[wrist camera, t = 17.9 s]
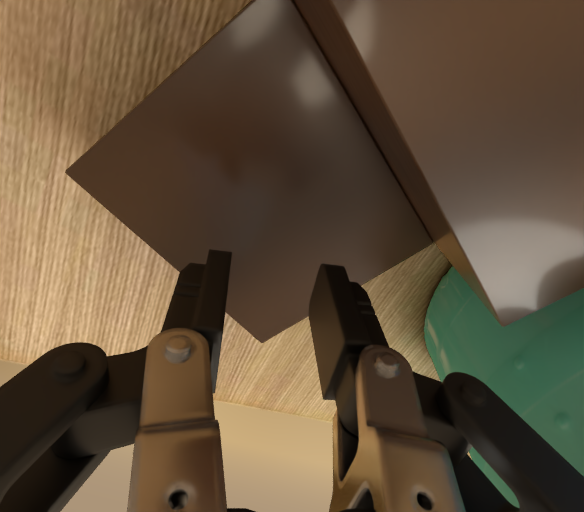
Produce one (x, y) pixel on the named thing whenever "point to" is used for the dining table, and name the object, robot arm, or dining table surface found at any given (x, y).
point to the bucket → (516, 363)
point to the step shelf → (363, 151)
